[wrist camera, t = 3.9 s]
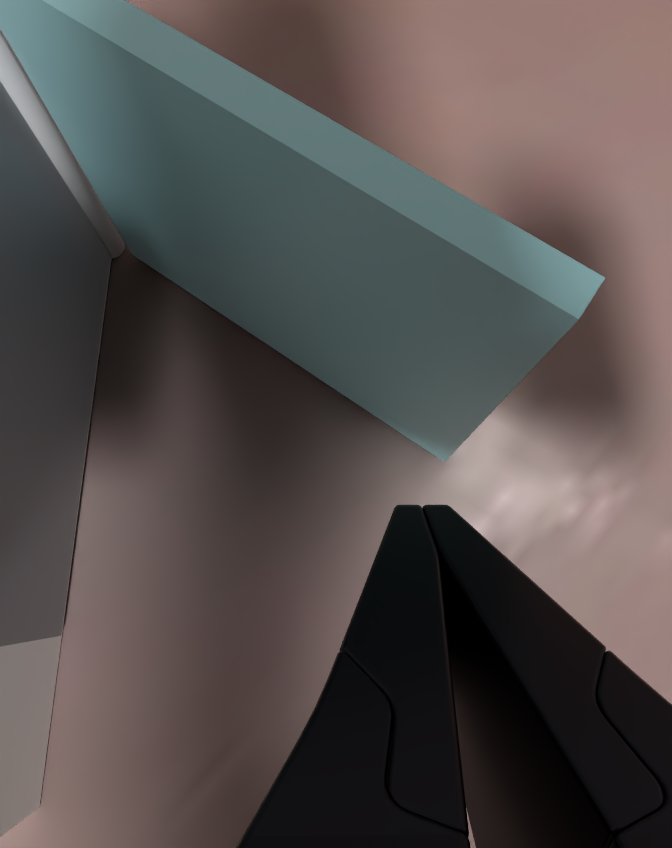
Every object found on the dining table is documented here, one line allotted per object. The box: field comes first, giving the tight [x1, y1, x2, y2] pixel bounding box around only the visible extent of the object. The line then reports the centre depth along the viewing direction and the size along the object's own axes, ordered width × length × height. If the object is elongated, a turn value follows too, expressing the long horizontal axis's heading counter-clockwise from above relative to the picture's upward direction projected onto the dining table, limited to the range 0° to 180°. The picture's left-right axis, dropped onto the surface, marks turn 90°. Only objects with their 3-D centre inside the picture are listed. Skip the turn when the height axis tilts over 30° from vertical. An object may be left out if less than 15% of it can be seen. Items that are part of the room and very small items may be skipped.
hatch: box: [0, 0, 605, 462], centre depth 13 cm, size 12×2×9 cm, turn 55°
